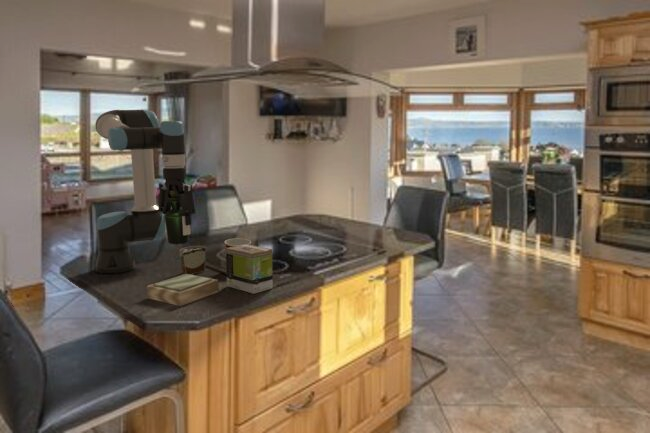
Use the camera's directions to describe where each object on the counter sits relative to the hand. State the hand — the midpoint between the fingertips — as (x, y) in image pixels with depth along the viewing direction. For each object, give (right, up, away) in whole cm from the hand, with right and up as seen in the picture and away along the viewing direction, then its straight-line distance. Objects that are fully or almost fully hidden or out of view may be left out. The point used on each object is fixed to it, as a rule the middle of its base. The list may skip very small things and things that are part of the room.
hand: (177, 233), depth 189 cm
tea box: (+23, -20, +12) cm, 33 cm away
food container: (-3, -17, +33) cm, 37 cm away
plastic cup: (+15, -16, +36) cm, 43 cm away
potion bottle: (0, -3, +1) cm, 3 cm away
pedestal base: (+1, -22, +3) cm, 22 cm away
